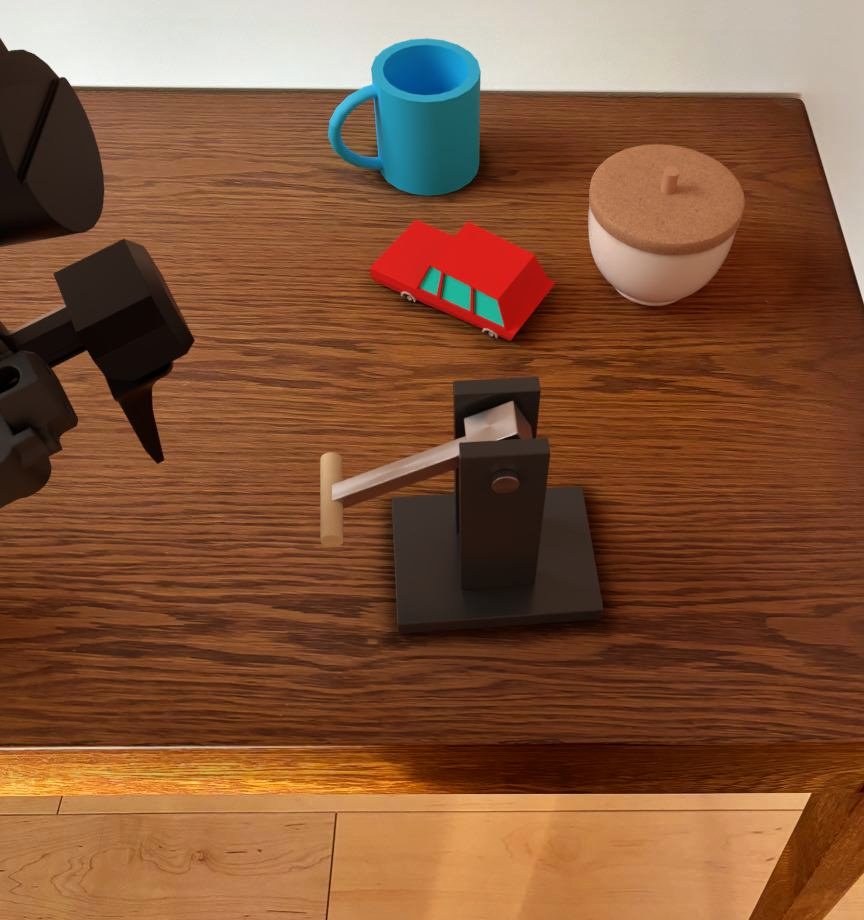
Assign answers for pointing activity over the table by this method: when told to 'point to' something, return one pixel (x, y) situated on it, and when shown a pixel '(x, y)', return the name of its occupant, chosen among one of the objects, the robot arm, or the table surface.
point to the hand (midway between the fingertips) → (74, 501)
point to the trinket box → (662, 221)
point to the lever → (407, 468)
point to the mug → (420, 117)
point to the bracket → (495, 532)
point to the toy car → (465, 276)
